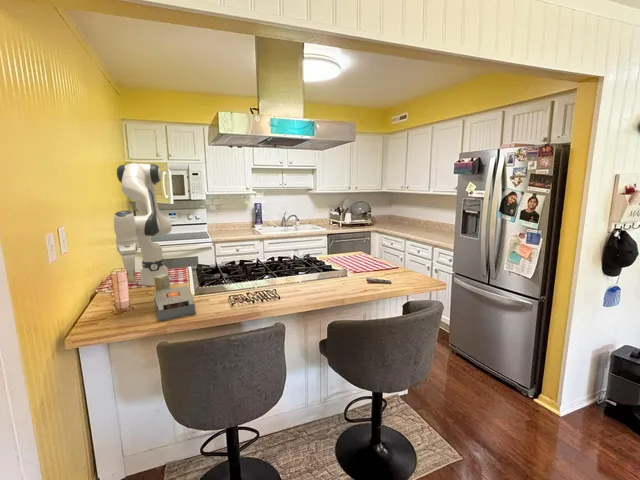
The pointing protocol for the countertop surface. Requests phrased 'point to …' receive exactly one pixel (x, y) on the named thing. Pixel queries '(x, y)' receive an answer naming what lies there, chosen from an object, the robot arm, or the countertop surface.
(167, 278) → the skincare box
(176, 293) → the breaker button
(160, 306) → the breaker housing
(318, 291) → the countertop surface
